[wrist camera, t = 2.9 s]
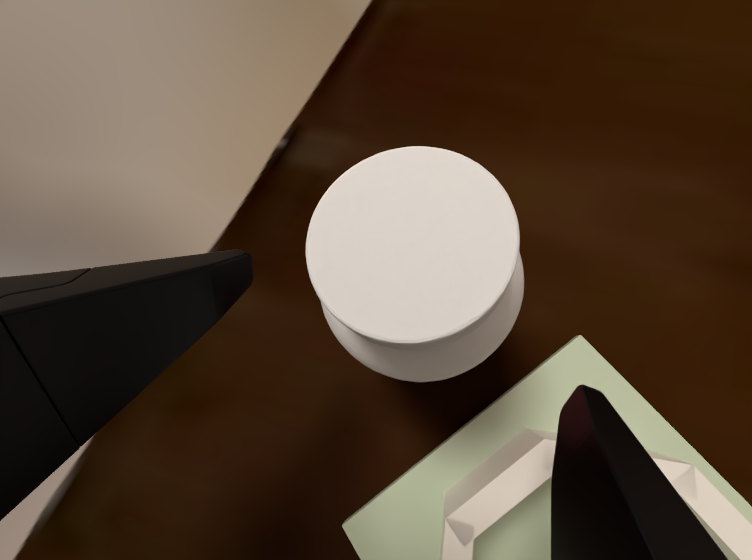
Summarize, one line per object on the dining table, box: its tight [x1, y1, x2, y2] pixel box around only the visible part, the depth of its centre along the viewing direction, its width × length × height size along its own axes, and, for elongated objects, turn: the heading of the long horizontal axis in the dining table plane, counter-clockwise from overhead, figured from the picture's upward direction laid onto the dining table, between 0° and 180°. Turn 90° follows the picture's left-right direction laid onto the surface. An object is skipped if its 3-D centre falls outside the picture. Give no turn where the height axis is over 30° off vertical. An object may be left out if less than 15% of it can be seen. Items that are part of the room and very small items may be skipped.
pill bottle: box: [306, 146, 524, 382], centre depth 12 cm, size 6×6×11 cm
